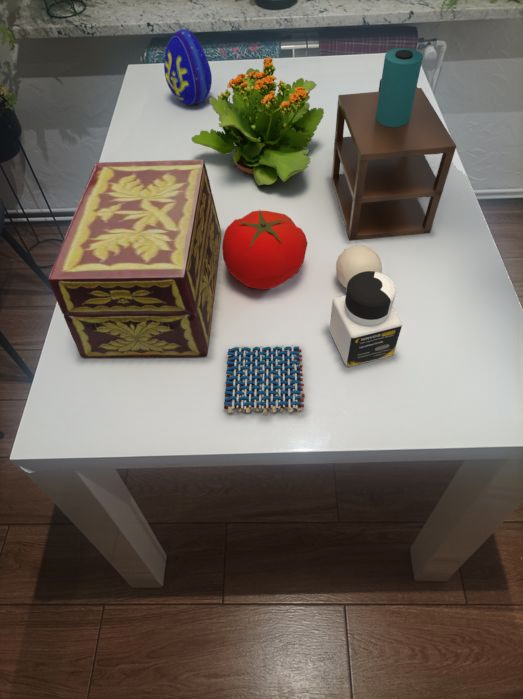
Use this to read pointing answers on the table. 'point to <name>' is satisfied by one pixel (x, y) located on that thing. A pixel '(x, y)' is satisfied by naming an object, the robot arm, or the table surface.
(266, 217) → the tomato
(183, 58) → the ornament
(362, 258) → the cream round ball
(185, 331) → the decorative box
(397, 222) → the rack
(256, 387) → the woven mat
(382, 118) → the teal cylinder
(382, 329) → the medicine bottle
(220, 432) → the table surface
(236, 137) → the potted flower
